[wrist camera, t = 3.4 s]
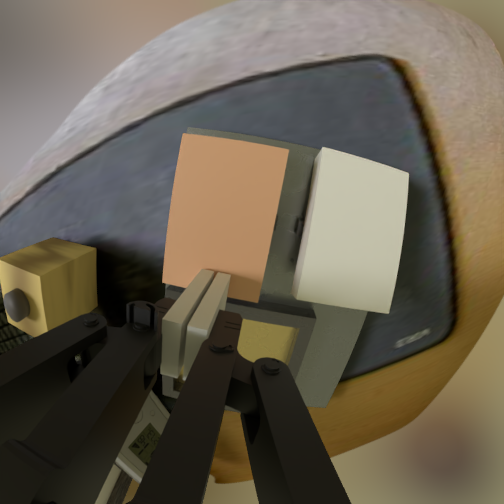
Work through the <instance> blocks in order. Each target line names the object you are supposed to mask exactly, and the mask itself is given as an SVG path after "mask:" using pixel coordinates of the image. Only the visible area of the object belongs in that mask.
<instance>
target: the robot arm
mask: <svg viewBox="0 0 504 504" xmlns="http://www.w3.org/2000/svg"><path fill="white" fill-rule="evenodd" d="M213 277H214V271H211V270H206V269H201V270H200V272H199V273H198V274H197V275H196V277H195V278H194V279H193V280H192V282H191V283H190V284H189V285H188V287H187V288H186V289H185V290H184V292H183V293H182V294H181V296H180V297H179V298H178V299H177V300H174V299H170V298H166V297H165V298H163V299H160V300H158V301H157V302H156V303H155V304H153V303H150V302H147V301H133V302H130V303H128V304H127V323H126V324H125V325H124V326H123V327H122V328H118V327H110V326H107V321H106V319H105V318H104V317H103V316H102V315H99V314H96V313H86V314H82V315H80V316H78V317H76V318H74V319H72V320H70V321H67V322H65V323H63V324H61V325H59V326H57V327H55V328H53V329H51V330H49V331H47V332H45V333H43V334H41V335H39V336H37V337H35V338H33V339H31V340H29V341H27V342H25V343H23V344H21V345H19V346H17V347H15V348H13V349H11V350H9V351H7V352H5V353H3V354H1V355H0V504H95V502H96V500H97V498H98V496H99V494H100V492H101V489H102V487H103V485H104V483H105V481H106V479H107V477H108V475H109V473H110V471H111V469H112V467H113V465H114V463H115V460H116V458H117V456H118V454H119V452H120V450H121V448H122V446H123V444H124V442H125V440H126V438H127V436H128V434H129V432H130V430H131V428H132V426H133V424H134V423H135V421H136V419H137V417H138V415H139V413H140V411H141V409H142V407H143V405H144V403H145V401H146V399H147V397H148V395H149V393H150V391H151V390H152V388H153V386H154V384H155V382H156V379H157V369H158V368H159V366H160V374H163V375H167V376H170V377H174V378H178V376H179V374H180V372H181V370H182V367H183V365H184V369H183V380H185V382H184V385H183V387H182V389H181V391H180V394H179V396H178V398H177V400H176V403H175V405H174V407H173V409H172V412H171V414H170V416H169V418H168V421H167V423H166V425H165V427H164V430H163V432H162V434H161V437H160V439H159V441H158V443H157V446H156V448H155V450H154V452H153V455H152V457H151V459H150V462H149V464H148V466H147V469H146V471H145V473H144V475H143V478H142V480H141V482H140V485H139V487H138V489H137V492H136V494H135V496H134V498H133V499H132V500H131V501H130V502H128V503H126V504H202V503H203V499H204V495H205V491H206V486H207V482H208V478H209V474H210V470H211V465H212V461H213V457H214V452H215V448H216V444H217V440H218V435H219V431H220V427H221V422H222V418H223V414H224V410H225V405H227V406H229V407H231V408H233V409H235V410H238V411H240V412H241V415H240V416H241V421H242V426H243V431H244V436H245V441H246V446H247V451H248V456H249V461H250V465H251V470H252V475H253V479H254V483H255V488H256V492H257V497H258V501H259V504H351V502H350V500H349V498H348V496H347V493H346V492H345V489H344V487H343V485H342V483H341V481H340V479H339V477H338V474H337V472H336V470H335V468H334V466H333V464H332V462H331V459H330V457H329V455H328V453H327V451H326V449H325V446H324V444H323V442H322V440H321V438H320V436H319V433H318V431H317V429H316V427H315V425H314V422H313V420H312V418H311V416H310V414H309V411H308V409H307V407H306V405H305V403H304V400H303V398H302V396H301V394H300V392H299V389H298V387H297V385H296V383H295V380H294V378H293V376H292V374H291V371H290V369H289V368H288V366H287V365H286V364H285V363H284V362H282V361H280V360H278V359H275V358H270V357H264V358H259V359H257V360H256V361H255V362H251V361H249V360H247V359H245V358H244V357H242V356H241V355H240V354H239V352H238V350H237V346H238V341H239V336H240V331H241V326H242V321H243V319H242V317H241V315H240V314H239V313H234V312H229V311H225V306H226V300H227V294H228V289H229V283H230V277H231V275H230V274H225V273H220V272H218V273H217V275H216V277H215V278H214V280H213ZM78 353H80V357H81V360H79V361H77V362H76V361H75V355H77V354H78Z"/></svg>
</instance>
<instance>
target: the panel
mask: <svg viewBox="0 0 504 504" xmlns="http://www.w3.org/2000/svg"><path fill="white" fill-rule="evenodd" d="M187 134H195V135H204V136H212V137H219V138H226V139H233V140H240V141H246V142H252V143H258V144H263V145H269V146H274V147H279V148H284V149H289V153H288V158H287V164H286V169H285V174H284V179H283V184H282V189H281V194H280V199H279V204H278V209H277V214H276V219H275V224H274V229H273V234H272V239H271V244H270V248H269V253H268V258H267V263H266V268H265V272H264V277H263V282H262V286H261V291H260V296H259V300H258V303H256V302H250V301H245V300H240V299H235V298H230V297H227V300H226V306H225V311H229V312H234V313H239V314H240V315H241V317H242V319H243V321H242V326H241V331H240V336H239V341H238V346H237V350H238V352H239V354H240V355H241V356H242V357H244V358H245V359H247V360H249V361H251V362H255V361H256V360H257V359H259V358H264V357H270V358H275V359H278V360H280V361H282V362H284V363H285V364H286V365H287V366H288V368H289V369H290V371H291V374H292V376H293V378H294V380H295V383H296V385H297V387H298V389H299V392H300V394H301V396H302V398H303V400H304V403H305V405H306V406H308V407H322V408H326V406H327V404H328V402H329V400H330V398H331V396H332V394H333V392H334V390H335V388H336V386H337V384H338V382H339V380H340V378H341V375H342V373H343V371H344V369H345V367H346V364H347V362H348V360H349V358H350V355H351V353H352V351H353V348H354V346H355V343H356V341H357V338H358V336H359V333H360V331H361V328H362V326H363V323H364V321H365V318H366V315H367V312H368V311H365V310H358V309H352V308H345V307H339V306H333V305H326V304H320V303H314V302H308V301H303V300H297V299H296V298H295V297H294V296H293V295H292V294H291V289H292V285H293V280H294V275H295V270H296V265H297V260H298V254H299V249H300V244H301V238H302V233H303V227H304V222H305V216H306V210H307V204H308V198H309V192H310V186H311V180H312V173H313V167H314V160H315V158H316V157H317V155H318V154H319V152H320V151H321V150H319V149H315V148H311V147H306V146H302V145H297V144H293V143H288V142H283V141H278V140H273V139H268V138H262V137H257V136H251V135H245V134H238V133H232V132H224V131H217V130H209V129H200V128H191V127H188V129H187ZM185 289H186V288H183V287H179V286H175V285H170V284H166V289H165V297H166V298H170V299H174V300H177V299H178V298H179V297H180V296H181V294H182V293H183V292H184V290H185ZM183 369H184V365H183V367H182V370H181V372H180V374H179V376H178V378H174V377H170V376H167V375H163V374H162V381H163V395H165V396H169V397H172V398H176V399H177V398H178V396H179V394H180V391H181V389H182V387H183V385H184V382H185V380H183ZM225 410H229V411H234V412H240V411H238V410H235V409H233V408H231V407H229V406H227V405H225ZM240 413H241V412H240Z"/></svg>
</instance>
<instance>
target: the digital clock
mask: <svg viewBox="0 0 504 504" xmlns="http://www.w3.org/2000/svg"><path fill="white" fill-rule="evenodd" d="M169 416H170V413H169V412H168V411H167V409H166V408H165V407H164V405H163V404H162V403H161V401H160V400H159V398H158V397H157V396H156V395H155V394H154V392H153V391H152V390H151V391H150V393H149V395H148V397H147V399H146V401H145V403H144V405H143V407H142V409H141V411H140V413H139V415H138V417H137V419H136V421H135V423H134V424H133V426H132V428H131V430H130V432H129V434H128V436H127V438H126V440H125V442H124V444H123V446H122V448H121V450H120V452H119V454H118V456H117V458H116V460H115V463H116V464H117V465H118V466H119V467H120V468H122V469H123V470H124V471H125V472H126V473H127V474H128V475H130V476H131V477H132V478H133V479H134V480H135V481H137V482H138V483H139V484H140V482H141V480H142V478H143V475H144V473H145V471H146V469H147V466H148V464H149V462H150V459H151V457H152V455H153V452H154V450H155V448H156V446H157V443H158V441H159V439H160V437H161V434H162V432H163V430H164V427H165V425H166V423H167V421H168V418H169Z"/></svg>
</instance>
